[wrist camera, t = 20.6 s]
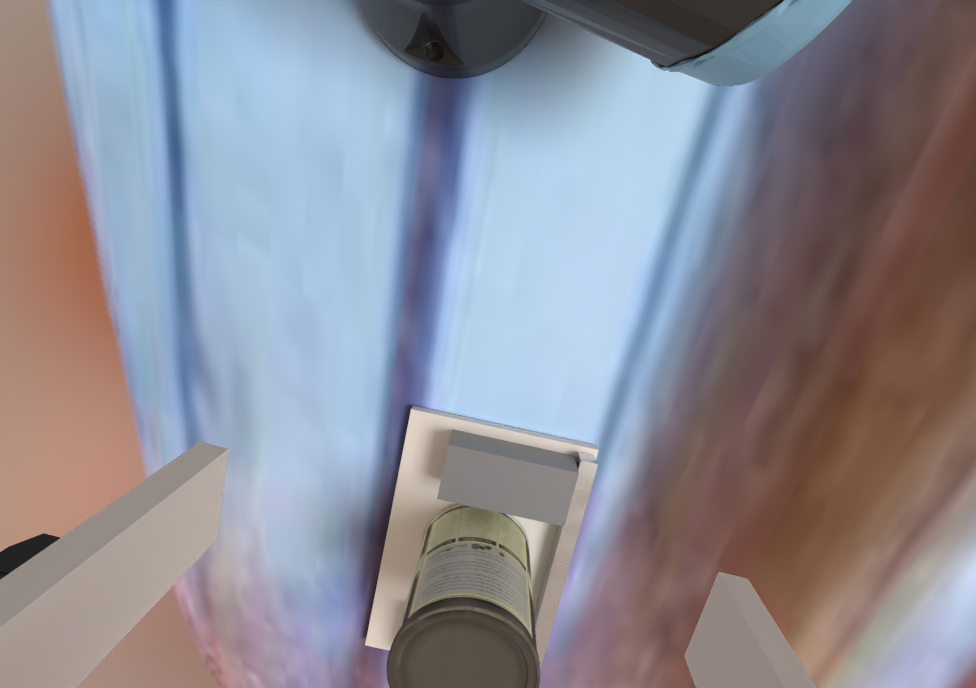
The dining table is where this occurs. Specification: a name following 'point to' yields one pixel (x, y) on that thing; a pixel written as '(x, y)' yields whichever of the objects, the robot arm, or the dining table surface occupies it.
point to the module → (508, 478)
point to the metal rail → (562, 553)
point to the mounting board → (421, 505)
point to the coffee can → (468, 607)
